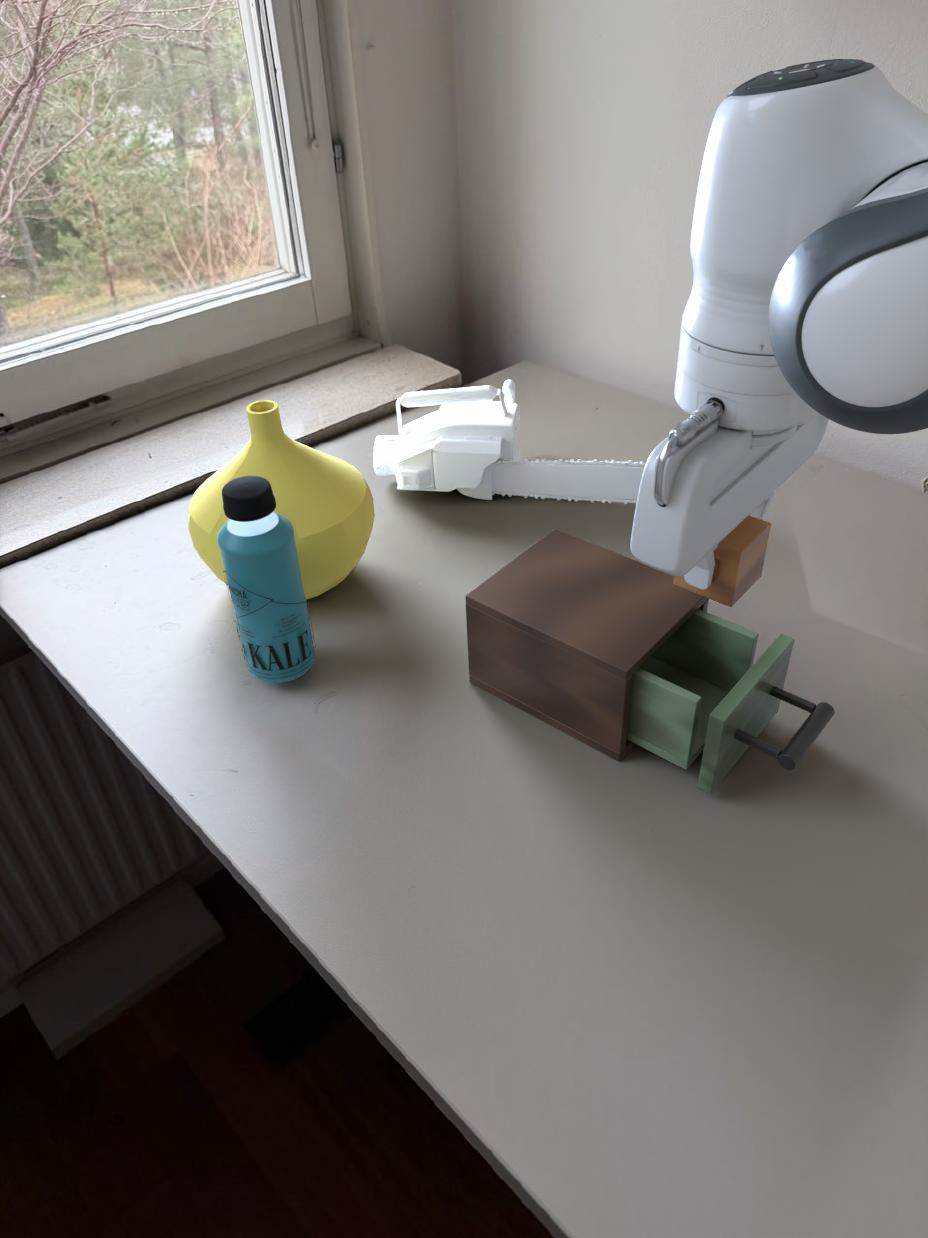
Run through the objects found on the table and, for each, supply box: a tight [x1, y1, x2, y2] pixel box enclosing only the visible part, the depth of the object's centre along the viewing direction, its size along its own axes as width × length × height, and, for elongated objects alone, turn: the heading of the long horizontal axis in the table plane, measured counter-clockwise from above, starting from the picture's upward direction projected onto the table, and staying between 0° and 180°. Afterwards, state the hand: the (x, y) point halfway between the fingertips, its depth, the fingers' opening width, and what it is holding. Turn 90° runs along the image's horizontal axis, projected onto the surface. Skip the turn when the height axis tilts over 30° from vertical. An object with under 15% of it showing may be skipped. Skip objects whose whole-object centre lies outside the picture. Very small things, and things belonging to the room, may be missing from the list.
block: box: [673, 515, 772, 608], centre depth 64 cm, size 4×4×4 cm
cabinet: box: [464, 527, 710, 762], centre depth 81 cm, size 16×13×10 cm
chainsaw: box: [372, 379, 646, 505], centre depth 108 cm, size 15×35×12 cm, turn 82°
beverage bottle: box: [217, 476, 318, 684], centre depth 80 cm, size 6×7×20 cm
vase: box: [187, 399, 376, 601], centre depth 92 cm, size 18×18×19 cm
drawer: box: [626, 609, 836, 795], centre depth 75 cm, size 20×12×8 cm, turn 50°
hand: (721, 561), depth 65 cm, fingers closed on block, 4 cm apart
